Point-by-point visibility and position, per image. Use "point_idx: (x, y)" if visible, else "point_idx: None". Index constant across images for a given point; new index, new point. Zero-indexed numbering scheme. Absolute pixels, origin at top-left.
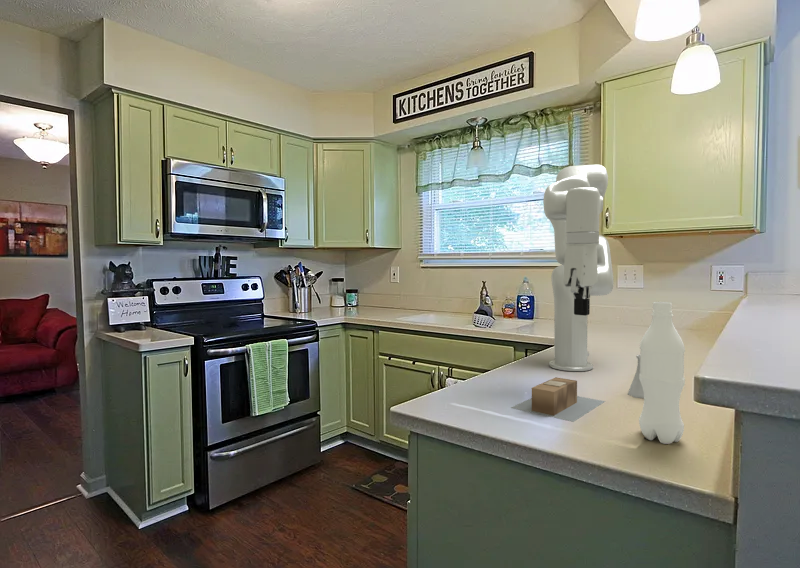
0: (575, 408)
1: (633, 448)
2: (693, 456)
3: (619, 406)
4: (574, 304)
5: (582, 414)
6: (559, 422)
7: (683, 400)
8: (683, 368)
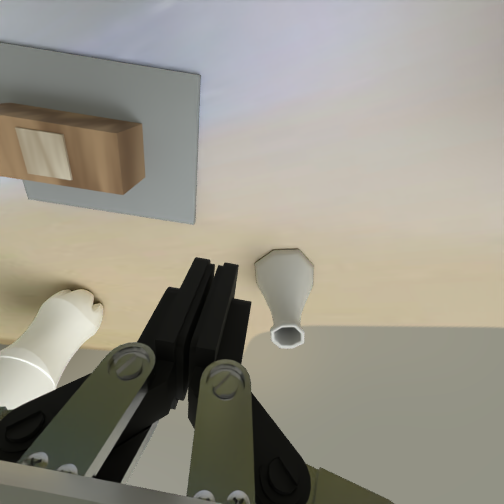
0: None
1: (21, 280)
2: None
3: (195, 245)
4: (175, 302)
5: (78, 204)
6: None
7: None
8: None
